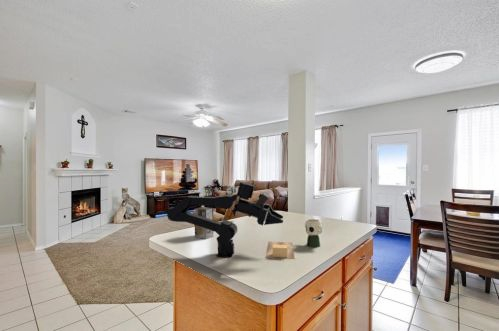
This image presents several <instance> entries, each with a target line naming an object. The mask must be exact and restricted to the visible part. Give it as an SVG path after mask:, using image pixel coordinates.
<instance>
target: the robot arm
mask: <svg viewBox="0 0 499 331" xmlns="http://www.w3.org/2000/svg"><path fill="white" fill-rule="evenodd" d="M255 188H256V186H255V185H254V184H251V183H245V182H242V181H241V182H239V184H238V190H237V192H236V193H234V194H233V195H232V194H225V195H219V196H192V195H188V196H184V197H183V199H182V200H181V201H180V202H178V203H177V204H176V205H175V206H173V207H171V208H169V209H168V210H167V211H166V212H167V213H166V215H167V216H166V217H167V218H168V221H170V222H176V223H187V224H191V225H194V226H195V225H197V226H200V227H203V228H206V229H209V230H212V231H213V232H215V233H216V234H217V235H218V237H216V241H217V254H216V257H219V258H232V257H233V255H234V254H235V243H234V239H233V238H234V237H235V236H236V234H237V233H238V226H237V224H235V223H234V221H230V220H227V219H223V220H222V221H217V220H214V219H213V220H211V219H208V218H205V217H202V216H199V215H196V214H195V213H192V212H190V211H189V208H190V207H191V206H202V207H205V206H207V207H208V206H209V207H216V208H219V209H224V210H229V209H231V208H233V209H231V212H232V215H233V216H234V217H235V216H237V214H238V213H240V214H244V215H247V217H249V218H251V217H253V218H256V222H257V224H258V225H260V226H266V225H267V226H268V225H274V224H275V225H276V224H283V222H284V220H283V218H284V216H283V215H282V214H280V213H278V212H277V211H275V210H274V209H273V208H272V206H271V205H270V203H269V204H268V203H266V201H268V200H269V198H270V196H269V195H268V194H267V193H265V192H263V193H259V195H258V200H256V201H253V202H252V201H249V200H250V199H252V197H253V194H254V190H255ZM237 200H238V201H237ZM236 201H237V202H236Z"/></svg>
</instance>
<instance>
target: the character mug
mask: <svg viewBox="0 0 499 331" xmlns="http://www.w3.org/2000/svg"><path fill="white" fill-rule="evenodd" d="M304 228H305V233H306V234H307V241H306V246H309V248H320V247H321V241H320V236H319V235H321V234H322V233H323V226H322V221H321V220H320V219H315V218H307V219H305V222H304Z"/></svg>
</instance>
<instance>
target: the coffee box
mask: <svg viewBox="0 0 499 331" xmlns="http://www.w3.org/2000/svg"><path fill="white" fill-rule="evenodd" d="M194 214H196V215H199V216H202V217H205V218H208V219H211V220H214V208H213V207H205V206H201V207H197V208H194ZM194 237H195V238H200V239H204V240H207V239H210V238H213V237H214V231H212V230H209V229H206V228H203V227H200V226H197V225H194Z"/></svg>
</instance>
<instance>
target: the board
mask: <svg viewBox="0 0 499 331" xmlns="http://www.w3.org/2000/svg"><path fill="white" fill-rule="evenodd" d="M273 245H287V258H278V257H273ZM265 259H279V260H280V259H282V260H296V258H295V252H294V246H293V242H288V241H287V242H284V241H268V243H267V247H266V252H265Z"/></svg>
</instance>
